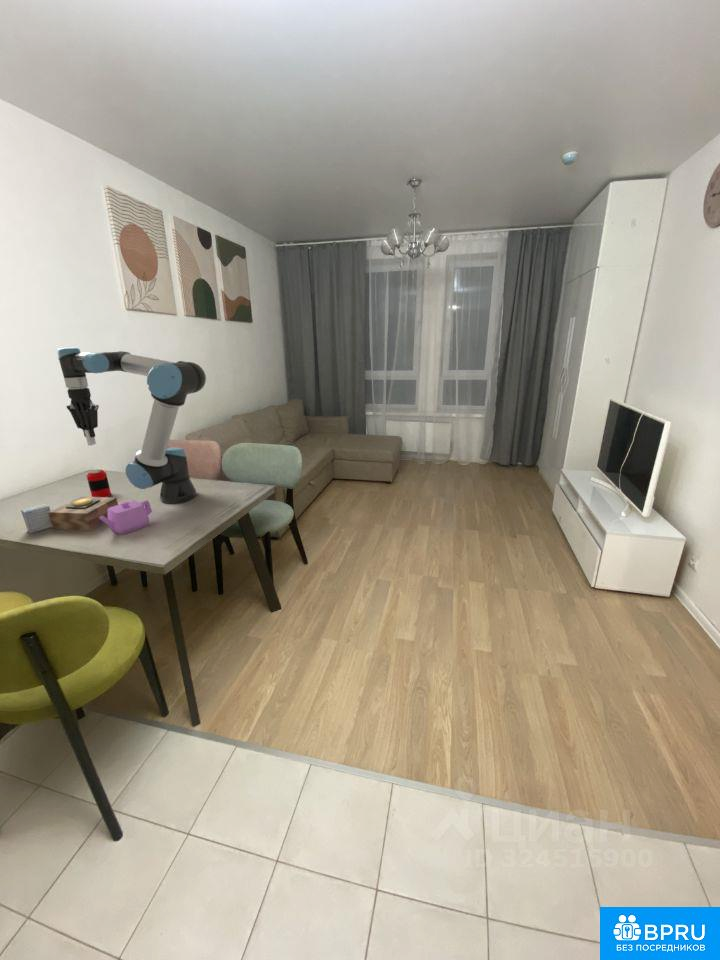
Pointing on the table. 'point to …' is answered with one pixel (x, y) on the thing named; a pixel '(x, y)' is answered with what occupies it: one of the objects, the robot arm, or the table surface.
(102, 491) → the soda can
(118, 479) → the table surface
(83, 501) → the peg
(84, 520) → the socket
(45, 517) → the medicine box
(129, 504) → the teapot
